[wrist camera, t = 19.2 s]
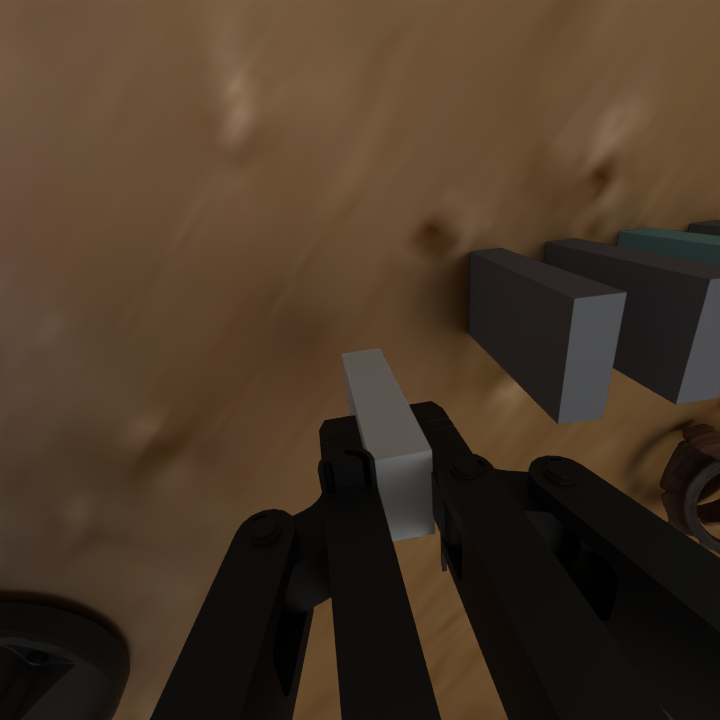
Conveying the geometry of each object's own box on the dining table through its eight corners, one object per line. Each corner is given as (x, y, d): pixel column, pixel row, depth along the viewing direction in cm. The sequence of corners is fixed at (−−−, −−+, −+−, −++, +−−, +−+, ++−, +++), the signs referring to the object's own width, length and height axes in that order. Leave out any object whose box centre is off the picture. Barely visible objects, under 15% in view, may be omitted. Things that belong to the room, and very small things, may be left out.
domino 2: (538, 324, 24) (675, 404, 15) (545, 242, 22) (710, 279, 13) (565, 320, 25) (717, 397, 16) (575, 238, 23) (758, 273, 13)
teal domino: (605, 313, 25) (780, 385, 16) (619, 231, 23) (829, 261, 14) (632, 309, 25) (819, 379, 16) (648, 227, 23) (874, 254, 14)
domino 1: (469, 334, 24) (558, 424, 15) (470, 251, 22) (574, 298, 13) (497, 330, 24) (602, 418, 15) (501, 248, 22) (626, 292, 13)
